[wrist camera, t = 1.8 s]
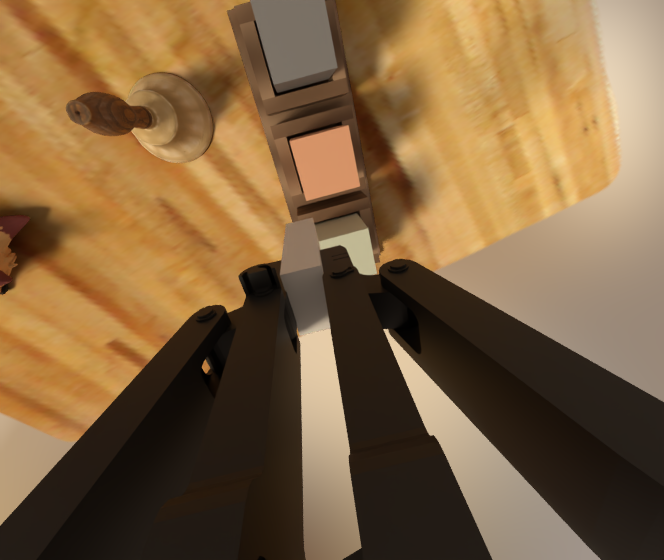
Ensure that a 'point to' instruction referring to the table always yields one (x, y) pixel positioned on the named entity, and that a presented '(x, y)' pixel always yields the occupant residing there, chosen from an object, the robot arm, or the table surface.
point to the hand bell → (151, 116)
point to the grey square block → (295, 41)
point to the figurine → (3, 232)
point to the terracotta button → (325, 162)
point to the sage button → (349, 240)
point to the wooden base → (305, 122)
